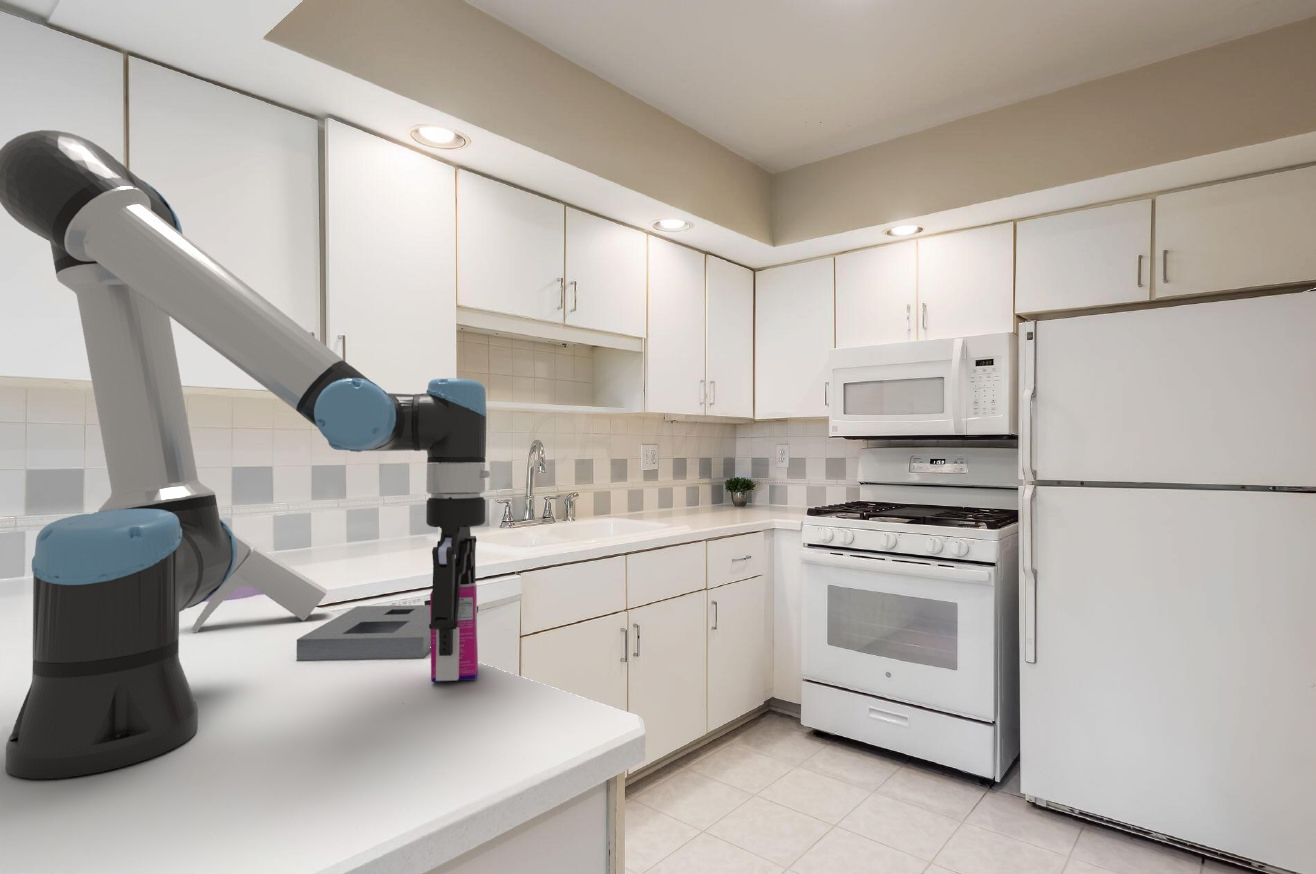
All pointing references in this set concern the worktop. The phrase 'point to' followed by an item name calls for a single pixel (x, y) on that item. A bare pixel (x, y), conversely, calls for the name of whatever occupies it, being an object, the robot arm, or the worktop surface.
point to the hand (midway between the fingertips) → (454, 670)
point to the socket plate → (370, 634)
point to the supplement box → (462, 634)
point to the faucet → (266, 583)
